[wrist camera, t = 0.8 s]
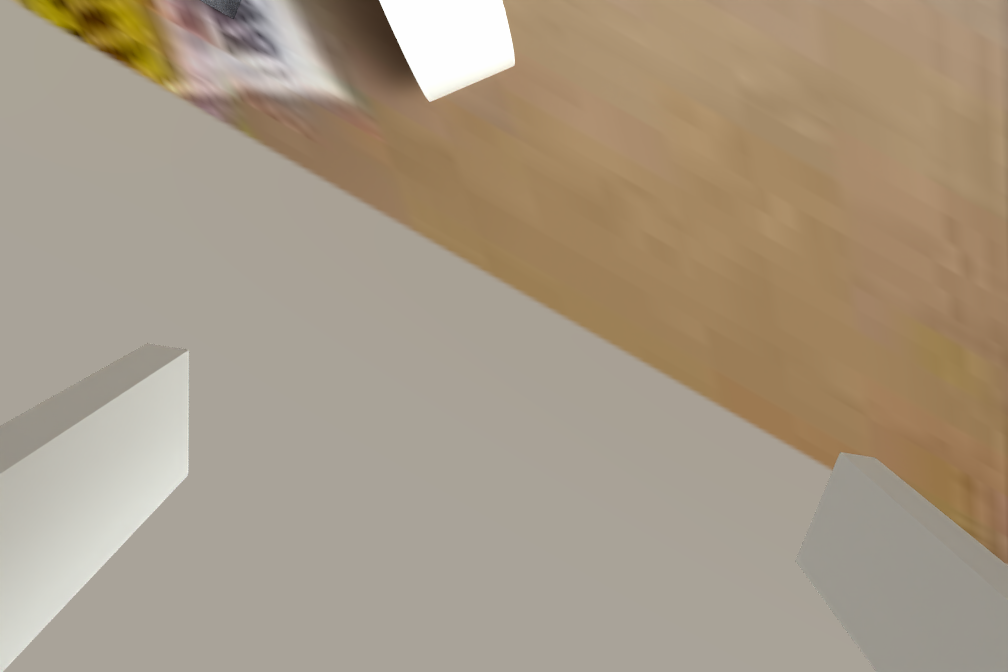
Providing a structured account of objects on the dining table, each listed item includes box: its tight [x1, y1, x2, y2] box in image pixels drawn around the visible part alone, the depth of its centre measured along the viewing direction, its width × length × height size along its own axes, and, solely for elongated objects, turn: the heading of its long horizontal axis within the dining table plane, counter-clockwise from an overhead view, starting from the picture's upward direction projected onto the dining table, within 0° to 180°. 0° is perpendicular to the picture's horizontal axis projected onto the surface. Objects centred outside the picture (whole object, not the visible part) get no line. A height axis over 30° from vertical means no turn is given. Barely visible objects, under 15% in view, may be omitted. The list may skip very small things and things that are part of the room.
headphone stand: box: [379, 0, 515, 102], centre depth 27 cm, size 5×6×12 cm
